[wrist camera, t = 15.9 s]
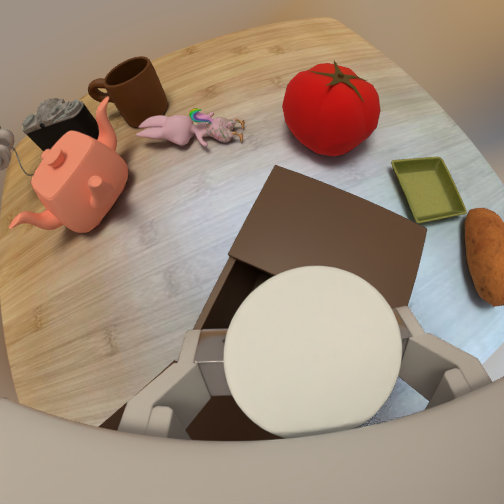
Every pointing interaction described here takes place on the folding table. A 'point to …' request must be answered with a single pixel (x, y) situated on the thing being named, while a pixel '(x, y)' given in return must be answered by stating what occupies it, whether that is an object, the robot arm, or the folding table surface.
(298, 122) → the tomato
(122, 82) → the mug
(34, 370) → the folding table surface
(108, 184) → the teapot
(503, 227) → the potato
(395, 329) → the pill bottle
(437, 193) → the olive green tray
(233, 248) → the carton
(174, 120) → the pink animal figure
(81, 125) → the camera
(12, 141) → the headphones
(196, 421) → the flap
